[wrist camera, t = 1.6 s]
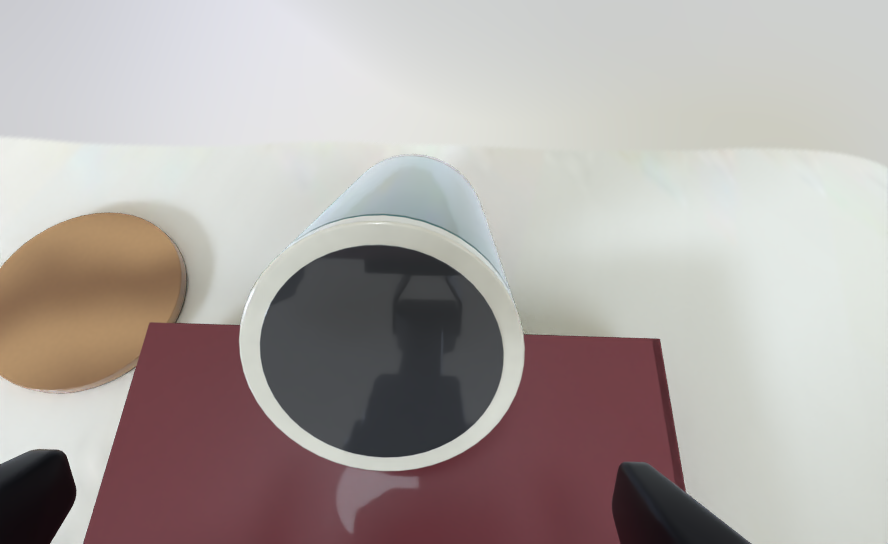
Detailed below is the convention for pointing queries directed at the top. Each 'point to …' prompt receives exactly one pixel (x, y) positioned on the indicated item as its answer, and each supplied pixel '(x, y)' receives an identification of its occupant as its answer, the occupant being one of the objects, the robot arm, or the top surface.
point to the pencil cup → (387, 324)
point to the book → (379, 492)
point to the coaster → (86, 301)
